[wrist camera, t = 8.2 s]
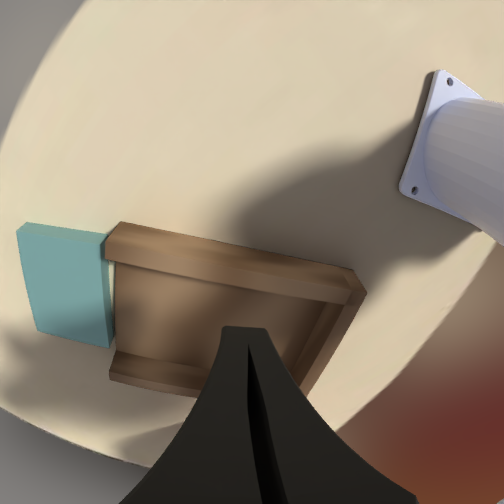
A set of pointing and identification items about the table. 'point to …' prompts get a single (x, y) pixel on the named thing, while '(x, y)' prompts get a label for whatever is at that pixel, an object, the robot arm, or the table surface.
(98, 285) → the cover plate
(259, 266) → the walnut box
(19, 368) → the table surface
